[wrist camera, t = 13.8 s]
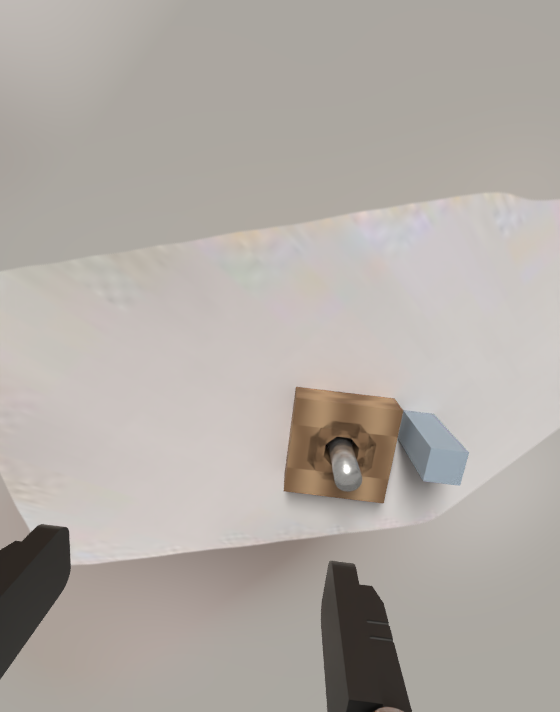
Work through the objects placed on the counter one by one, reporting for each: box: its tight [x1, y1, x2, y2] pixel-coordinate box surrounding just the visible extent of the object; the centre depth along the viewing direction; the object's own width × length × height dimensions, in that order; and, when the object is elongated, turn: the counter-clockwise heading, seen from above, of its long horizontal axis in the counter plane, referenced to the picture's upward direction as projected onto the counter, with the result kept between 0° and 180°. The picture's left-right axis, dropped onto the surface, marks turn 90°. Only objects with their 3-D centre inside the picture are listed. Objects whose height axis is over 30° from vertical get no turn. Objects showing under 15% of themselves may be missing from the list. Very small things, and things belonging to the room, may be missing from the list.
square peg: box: [398, 410, 469, 485], centre depth 43 cm, size 4×4×10 cm
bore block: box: [284, 387, 403, 503], centre depth 47 cm, size 13×13×4 cm
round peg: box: [328, 437, 362, 492], centre depth 44 cm, size 3×3×10 cm
